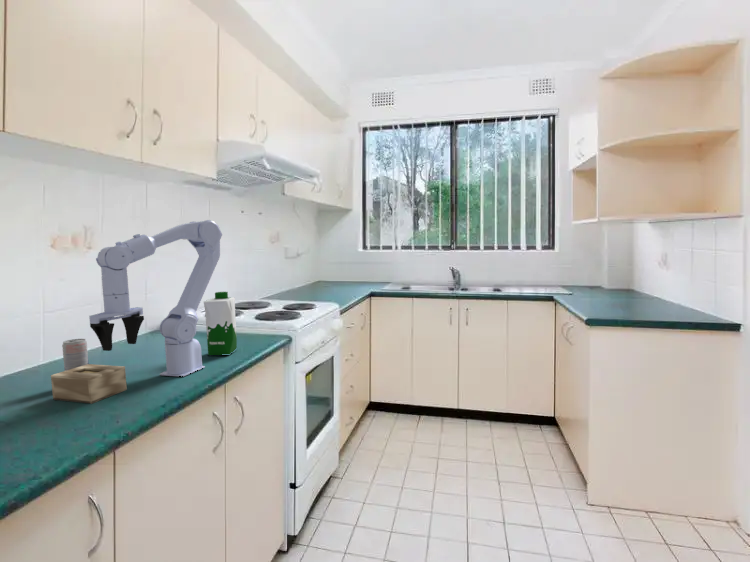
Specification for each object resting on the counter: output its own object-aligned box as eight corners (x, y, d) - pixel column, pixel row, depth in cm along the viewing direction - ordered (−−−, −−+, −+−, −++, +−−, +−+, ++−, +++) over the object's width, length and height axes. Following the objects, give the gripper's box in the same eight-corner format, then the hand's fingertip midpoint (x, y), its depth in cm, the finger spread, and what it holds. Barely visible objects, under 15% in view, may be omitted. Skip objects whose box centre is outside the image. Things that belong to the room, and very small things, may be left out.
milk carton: (240, 349, 157) (236, 291, 155) (231, 356, 148) (227, 294, 146) (214, 350, 157) (210, 291, 155) (203, 357, 148) (199, 295, 146)
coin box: (90, 386, 120) (88, 364, 119) (126, 389, 116) (124, 366, 116) (53, 399, 110) (50, 375, 110) (91, 403, 107) (89, 378, 106)
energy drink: (85, 381, 125) (82, 337, 124) (93, 384, 122) (89, 339, 121) (63, 386, 121) (58, 341, 120) (70, 390, 117) (66, 343, 116)
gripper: (103, 297, 109) (108, 354, 110) (150, 291, 123) (154, 341, 124) (81, 297, 111) (85, 353, 112) (129, 290, 125) (133, 340, 126)
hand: (120, 347), depth 118 cm, fingers open, 7 cm apart
